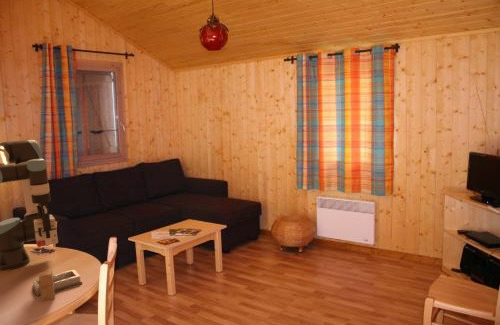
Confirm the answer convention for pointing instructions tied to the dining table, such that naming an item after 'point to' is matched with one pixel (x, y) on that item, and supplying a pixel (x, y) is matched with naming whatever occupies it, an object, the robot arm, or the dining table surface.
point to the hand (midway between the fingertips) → (47, 243)
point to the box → (46, 285)
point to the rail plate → (60, 281)
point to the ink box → (40, 235)
